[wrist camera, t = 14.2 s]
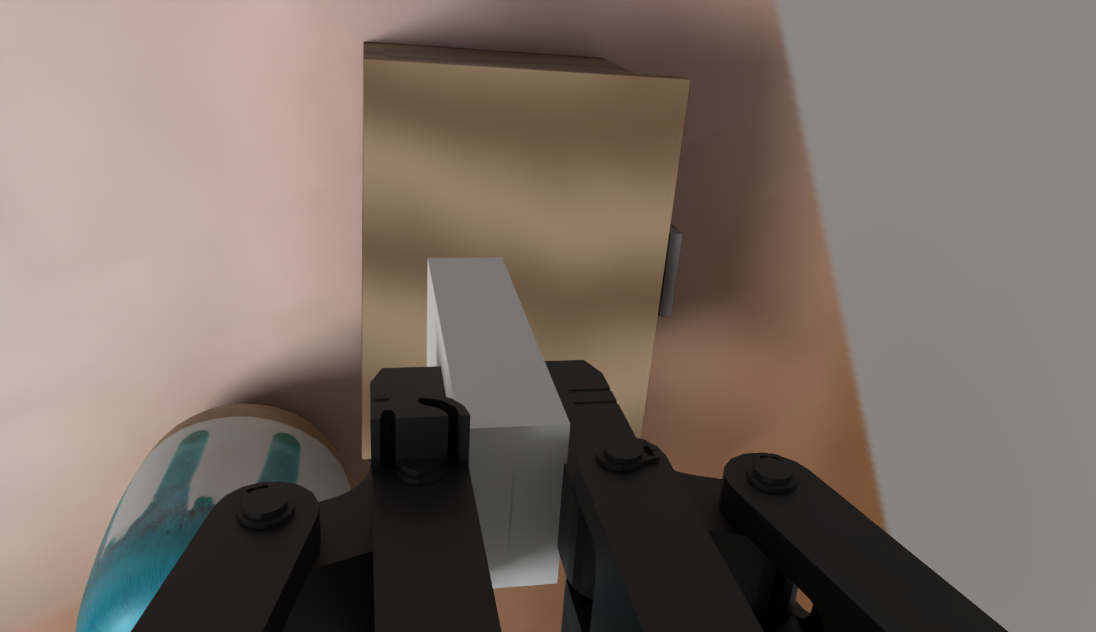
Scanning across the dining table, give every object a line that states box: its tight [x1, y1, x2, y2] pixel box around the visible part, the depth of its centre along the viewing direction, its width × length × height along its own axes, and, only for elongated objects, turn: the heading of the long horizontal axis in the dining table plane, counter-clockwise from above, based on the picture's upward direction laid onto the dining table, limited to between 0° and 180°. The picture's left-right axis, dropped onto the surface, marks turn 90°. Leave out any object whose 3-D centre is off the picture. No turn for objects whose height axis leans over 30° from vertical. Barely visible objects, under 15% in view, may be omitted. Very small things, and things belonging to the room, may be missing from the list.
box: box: [362, 42, 635, 346], centre depth 40 cm, size 15×11×9 cm
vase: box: [76, 404, 351, 632], centre depth 38 cm, size 11×11×19 cm
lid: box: [362, 57, 690, 459], centre depth 36 cm, size 16×13×2 cm
